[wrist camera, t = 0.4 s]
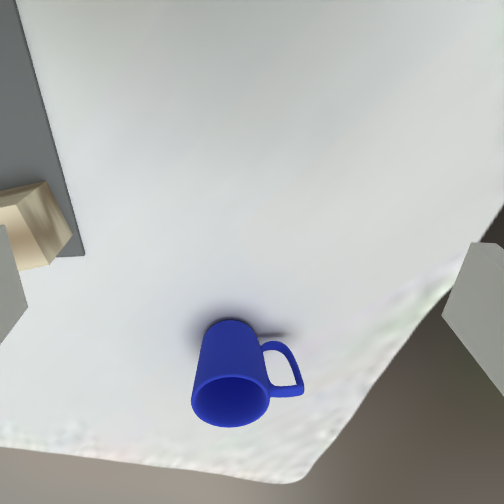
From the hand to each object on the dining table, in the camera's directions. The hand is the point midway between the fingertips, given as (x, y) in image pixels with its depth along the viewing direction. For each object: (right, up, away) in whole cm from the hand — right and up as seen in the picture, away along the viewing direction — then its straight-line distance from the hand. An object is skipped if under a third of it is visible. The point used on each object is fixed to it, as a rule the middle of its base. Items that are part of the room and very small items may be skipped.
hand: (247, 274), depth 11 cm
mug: (-1, -10, +37) cm, 38 cm away
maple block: (-22, +4, +27) cm, 35 cm away
